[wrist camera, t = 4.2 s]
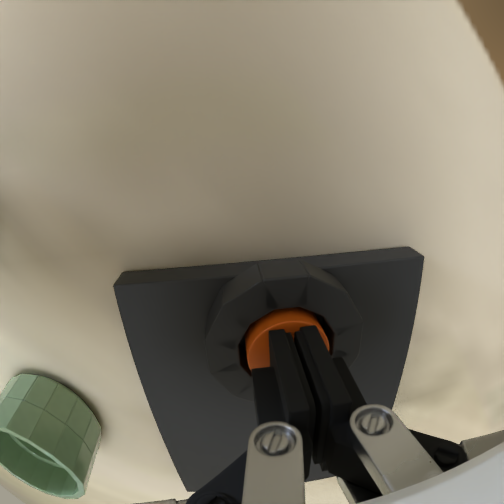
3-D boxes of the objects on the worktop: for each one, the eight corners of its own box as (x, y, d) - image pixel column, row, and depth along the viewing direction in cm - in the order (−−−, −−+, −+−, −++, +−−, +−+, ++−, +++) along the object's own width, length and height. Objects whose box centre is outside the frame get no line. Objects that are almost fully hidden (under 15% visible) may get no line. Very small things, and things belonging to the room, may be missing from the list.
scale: (120, 261, 13) (95, 292, 10) (410, 236, 14) (447, 258, 11) (187, 476, 18) (186, 510, 15) (365, 453, 19) (378, 483, 16)
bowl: (-4, 364, 14) (-40, 413, 10) (79, 371, 15) (47, 438, 10) (38, 435, 16) (17, 484, 12) (117, 447, 17) (103, 507, 12)
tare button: (241, 301, 12) (244, 326, 10) (318, 293, 12) (331, 315, 11) (247, 363, 13) (250, 390, 11) (316, 355, 13) (326, 380, 12)
